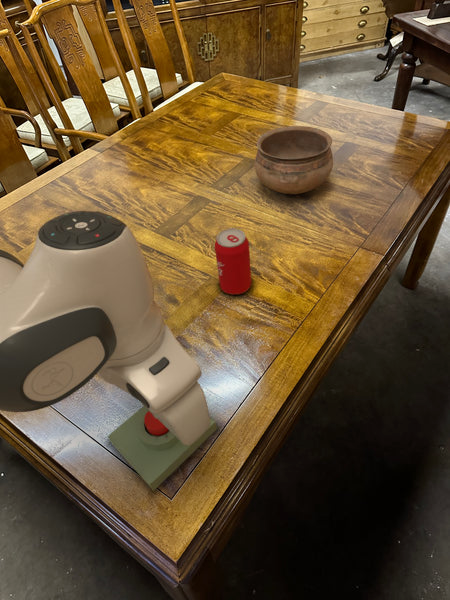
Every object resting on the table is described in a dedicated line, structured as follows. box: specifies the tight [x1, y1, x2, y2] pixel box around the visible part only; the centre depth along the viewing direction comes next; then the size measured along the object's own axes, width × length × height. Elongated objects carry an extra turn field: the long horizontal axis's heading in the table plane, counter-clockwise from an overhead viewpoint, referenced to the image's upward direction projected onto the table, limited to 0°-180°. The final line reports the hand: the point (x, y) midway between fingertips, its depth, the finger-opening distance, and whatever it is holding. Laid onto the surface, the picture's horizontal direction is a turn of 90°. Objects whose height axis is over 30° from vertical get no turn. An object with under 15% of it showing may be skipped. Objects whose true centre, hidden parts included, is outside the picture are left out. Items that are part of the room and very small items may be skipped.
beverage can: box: [214, 228, 252, 295], centre depth 78 cm, size 6×6×12 cm
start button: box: [144, 411, 169, 436], centre depth 58 cm, size 4×4×2 cm
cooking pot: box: [254, 125, 334, 196], centre depth 103 cm, size 25×19×12 cm
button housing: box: [107, 406, 218, 492], centre depth 60 cm, size 12×10×4 cm
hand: (154, 408), depth 56 cm, fingers closed
